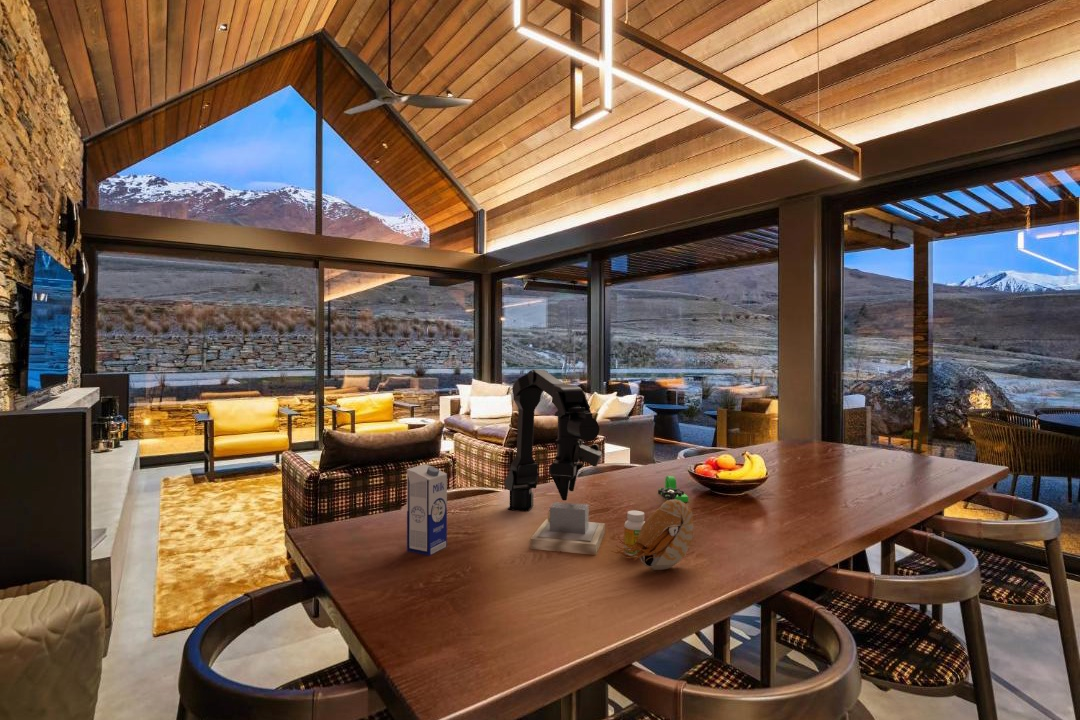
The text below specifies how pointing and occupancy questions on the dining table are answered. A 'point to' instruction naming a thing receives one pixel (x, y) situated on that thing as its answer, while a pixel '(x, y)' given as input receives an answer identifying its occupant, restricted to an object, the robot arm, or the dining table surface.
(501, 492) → the dining table surface
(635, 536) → the supplement bottle
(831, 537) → the dining table surface
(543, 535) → the stand
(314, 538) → the dining table surface
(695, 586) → the dining table surface
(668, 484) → the mechanical part
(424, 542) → the milk carton
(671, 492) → the valve
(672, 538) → the nautilus
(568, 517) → the block
